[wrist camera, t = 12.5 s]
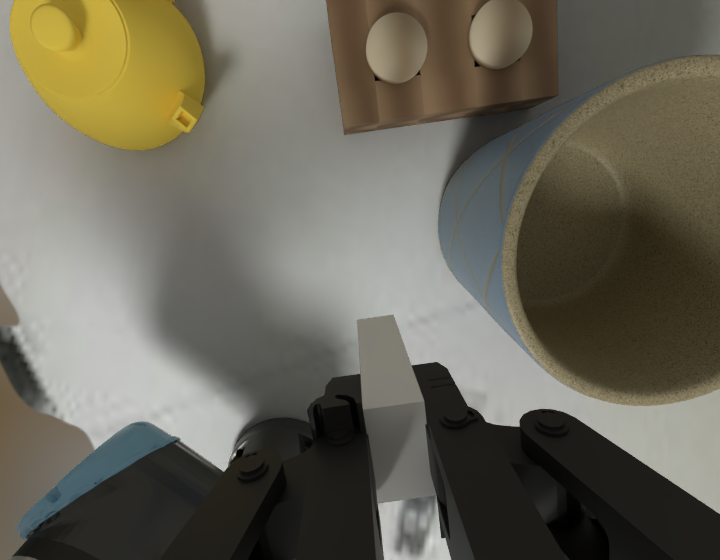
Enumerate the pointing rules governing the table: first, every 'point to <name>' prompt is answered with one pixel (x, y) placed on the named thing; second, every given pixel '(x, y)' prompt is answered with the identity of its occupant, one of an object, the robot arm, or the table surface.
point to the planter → (603, 235)
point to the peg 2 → (499, 34)
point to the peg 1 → (396, 48)
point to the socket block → (437, 65)
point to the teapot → (113, 67)
